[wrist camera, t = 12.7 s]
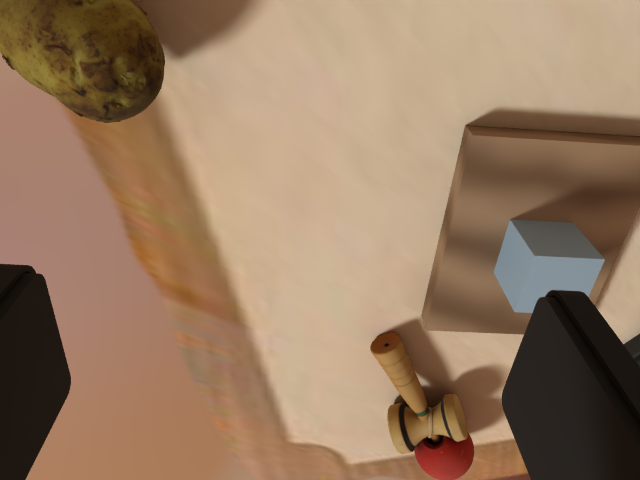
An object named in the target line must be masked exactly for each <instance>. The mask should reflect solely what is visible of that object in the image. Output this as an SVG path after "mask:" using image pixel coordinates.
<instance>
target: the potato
mask: <svg viewBox="0 0 640 480" xmlns="http://www.w3.org/2000/svg"><path fill="white" fill-rule="evenodd" d="M0 53H1V54H2V57H3V59H5V60H6V63H8V65H9V66H10V67H11V68H12V69H13V70H16V71H17V72H18V73H19V74H20V75H21V76H22V77H23V78H24V79H25V80H27V81H28V82H30V83H31V84H33V85H35V86H36V87H38V88H39V89H41V90H43V91H45V92H46V93H48V94H50V95H52V96H54V97H56V98H57V99H58V100H59V101H60V102H61V103H63V104H64V105H65V106H66V107H68V108H69V109H70V110H72V111H73V112H75V113H76V114H78V115H79V116H81V117H82V116H84V117H86V118H89V119H92V120H96V121H99V122H100V121H101V122H104V123H109V122H120V121H121V120H124V119H127V118H130V117H133V116H135V115H137V114H139V113H140V112H142V111H143V110H145V109H146V108H147V107H148V106H149V105H150V104H151V103H152V102H153V101H154V99H155V98H156V96H157V95H158V93H159V91H160V89H161V86H162V82H163V78H164V66H165V59H164V58H165V56H164V53H163V48H162V47H161V44H160V42H159V39H158V36H157V34H156V32H155V30H154V28H153V26H152V24H151V23H150V21H149V20H148V18H147V16H146V13H145V12H144V11H143V10H142V9H141V8H140V7H138V6H137V5H136V4H135V3H134V2H133V1H132V0H0Z"/></svg>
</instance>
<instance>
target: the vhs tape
mask: <svg viewBox="0 0 640 480" xmlns="http://www.w3.org/2000/svg"><path fill="white" fill-rule="evenodd" d="M623 345H624V346H625V348H626V349H627V350H628V352H629V353H630V354H631V356H632V357H633V358H634V360H635V361H636V362H637V364H638V365H639V366H640V334H638V335H637V336H636V337H634V338H633V339H631V340H630V341H628V342H626V343H625V344H623Z"/></svg>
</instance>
